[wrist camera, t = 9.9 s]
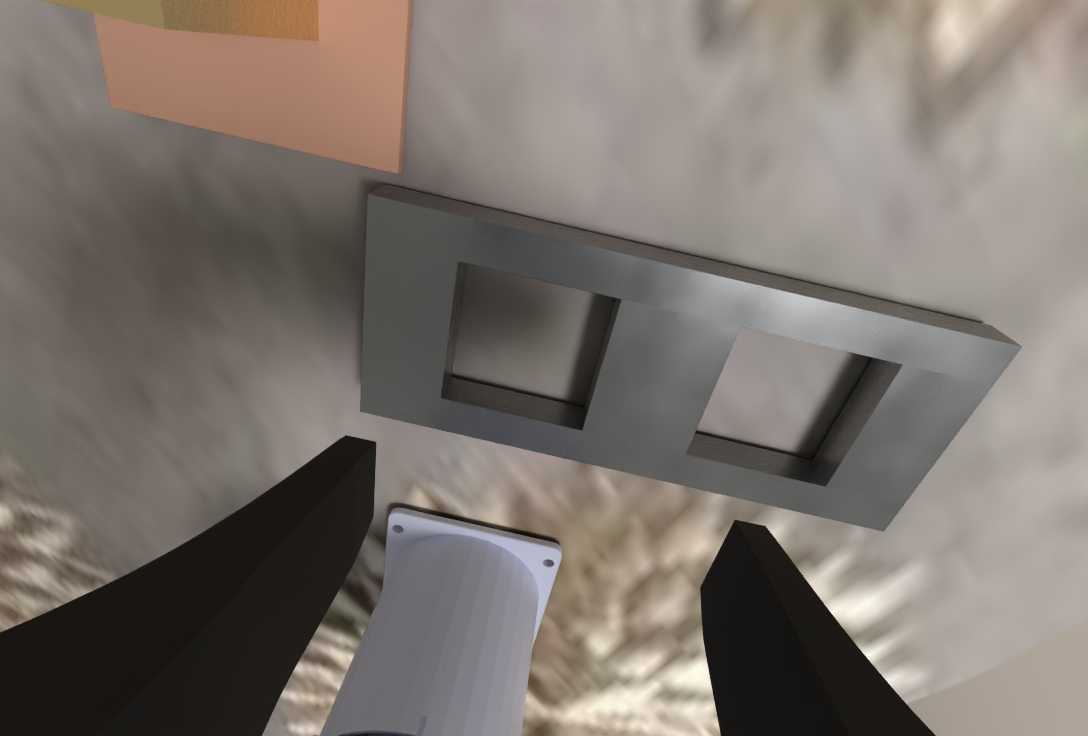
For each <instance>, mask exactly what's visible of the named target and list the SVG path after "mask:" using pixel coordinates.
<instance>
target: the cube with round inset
mask: <svg viewBox="0 0 1088 736" xmlns="http://www.w3.org/2000/svg"><path fill="white" fill-rule="evenodd" d="M41 1H45V2H49V3H54V4H58V5H62V6H66V7H71V8H75V9H79V10H84V11H88V12H92V13H96V14H101V15H105V16H109V17H114V18H118V19H122V20H126V21H131V22H135V23H139V24H144V25H148V26H152V27H157V28H161V29H166V30H179V31H192V32H205V33H217V34H230V35H243V36H256V37H269V38H282V39H295V40H308V41H319V32H318V0H41Z"/></svg>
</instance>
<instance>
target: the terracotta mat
mask: <svg viewBox="0 0 1088 736" xmlns="http://www.w3.org/2000/svg"><path fill="white" fill-rule="evenodd" d="M93 14H94V20H95V25H96V30H97V36H98V41H99V46H100V51H101V57H102V62H103V67H104V73H105V78H106V83H107V88H108V94H109V99H110V104H111V107H113V108H117V109H122V110H126V111H130V112H134V113H139V114H143V115H147V116H151V117H156V118H160V119H164V120H169V121H173V122H177V123H181V124H186V125H190V126H194V127H199V128H203V129H207V130H211V131H216V132H220V133H224V134H229V135H233V136H237V137H241V138H246V139H250V140H254V141H258V142H263V143H267V144H271V145H276V146H280V147H284V148H288V149H293V150H297V151H301V152H306V153H310V154H314V155H318V156H323V157H327V158H331V159H336V160H340V161H344V162H348V163H353V164H357V165H361V166H365V167H370V168H374V169H378V170H383V171H387V172H391V173H395V174H399V173H401V172H402V167H403V152H404V136H405V121H406V106H407V90H408V75H409V60H410V44H411V29H412V14H413V0H318V32H319V41H308V40H295V39H282V38H269V37H256V36H243V35H230V34H217V33H205V32H192V31H179V30H166V29H161V28H157V27H152V26H148V25H144V24H139V23H135V22H131V21H126V20H122V19H118V18H114V17H109V16H105V15H101V14H96V13H93Z"/></svg>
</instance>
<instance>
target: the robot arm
mask: <svg viewBox="0 0 1088 736" xmlns="http://www.w3.org/2000/svg"><path fill="white" fill-rule="evenodd" d="M375 463H376V442H374V441H370V440H365V439H360V438H356V437H351V436H347V435H346V436H344V437H343V438H341V439H339V440H338V441H337V442H335V443H334V444H332V445H331V446H330V447H328V448H327V449H326V450H324V451H323V452H321V453H320V454H319V455H317V456H316V457H315V458H313V459H312V460H311V461H309V462H308V463H306V464H305V465H304V466H302V467H301V468H299V469H298V470H297V471H295V472H294V473H292V474H291V475H290V476H288V477H287V478H285V479H284V480H283V481H281V482H280V483H278V484H277V485H275V486H274V487H272V488H271V489H269V490H268V491H266V492H265V493H264V494H262V495H261V496H259V497H258V498H256V499H255V500H253V501H252V502H250V503H249V504H247V505H246V506H244V507H243V508H241V509H239V510H238V511H236V512H235V513H233V514H231V515H230V516H228V517H227V518H225V519H223V520H222V521H220V522H219V523H217V524H215V525H214V526H212V527H211V528H209V529H207V530H206V531H204V532H203V533H201V534H199V535H198V536H196V537H194V538H192V539H191V540H189V541H187V542H186V543H184V544H182V545H180V546H179V547H177V548H175V549H173V550H172V551H170V552H168V553H166V554H164V555H163V556H161V557H159V558H157V559H155V560H153V561H151V562H150V563H148V564H146V565H144V566H142V567H140V568H138V569H136V570H135V571H133V572H131V573H129V574H127V575H125V576H123V577H121V578H119V579H117V580H115V581H113V582H111V583H109V584H106V585H104V586H102V587H100V588H98V589H96V590H94V591H92V592H89V593H87V594H85V595H83V596H81V597H79V598H77V599H75V600H72V601H70V602H68V603H66V604H64V605H62V606H60V607H58V608H55V609H53V610H51V611H49V612H47V613H45V614H42V615H40V616H38V617H36V618H33V619H31V620H29V621H26V622H24V623H22V624H19V625H17V626H14V627H12V628H10V629H7V630H5V631H3V632H0V736H262V734H263V732H264V730H265V727H266V725H267V723H268V721H269V719H270V716H271V714H272V712H273V710H274V708H275V706H276V703H277V701H278V699H279V697H280V695H281V693H282V691H283V689H284V687H285V686H286V684H287V682H288V680H289V678H290V676H291V674H292V672H293V670H294V669H295V667H296V665H297V663H298V661H299V660H300V658H301V656H302V654H303V653H304V651H305V649H306V647H307V646H308V644H309V642H310V640H311V639H312V637H313V635H314V633H315V632H316V630H317V628H318V626H319V624H320V623H321V621H322V619H323V617H324V616H325V614H326V612H327V610H328V609H329V607H330V605H331V603H332V602H333V600H334V598H335V596H336V594H337V593H338V591H339V589H340V587H341V585H342V584H343V582H344V580H345V578H346V577H347V575H348V573H349V571H350V569H351V567H352V566H353V564H354V562H355V559H356V557H357V555H358V552H359V550H360V548H361V545H362V543H363V541H364V538H365V536H366V533H367V531H368V528H369V526H370V524H371V521H372V519H373V514H374V488H375ZM398 525H399V526H398ZM400 526H401V527H400ZM561 558H562V548H561V546H560V545H558V544H557V543H554V542H550V541H546V540H541V539H537V538H532V537H528V536H524V535H519V534H515V533H510V532H506V531H502V530H497V529H493V528H488V527H484V526H480V525H475V524H471V523H466V522H462V521H458V520H453V519H449V518H444V517H440V516H436V515H431V514H427V513H422V512H418V511H414V510H409V509H405V508H394V509H393V510H392V511H391V513H390V515H389V517H388V526H387V539H386V552H385V566H384V579H383V590H382V592H381V594H380V597H379V599H378V601H377V604H376V606H375V608H374V611H373V613H372V615H371V618H370V620H369V622H368V625H367V627H366V629H365V632H364V634H363V636H362V639H361V641H360V643H359V646H358V648H357V650H356V653H355V655H354V657H353V660H352V662H351V664H350V667H349V669H348V671H347V673H346V676H345V678H344V680H343V683H342V685H341V687H340V690H339V692H338V694H337V697H336V699H335V701H334V704H333V706H332V708H331V711H330V713H329V715H328V718H327V720H326V722H325V725H324V727H323V729H322V732H321V734H320V736H521V731H522V723H523V716H524V708H525V700H526V693H527V685H528V678H529V670H530V662H531V655H532V647H533V644H534V641H535V638H536V635H537V632H538V629H539V626H540V623H541V620H542V617H543V614H544V610H545V607H546V604H547V601H548V598H549V595H550V592H551V589H552V586H553V583H554V580H555V577H556V573H557V570H558V567H559V564H560V561H561ZM546 559H550V560H546ZM700 590H701V612H702V626H703V640H704V645H705V651H706V657H707V663H708V668H709V674H710V679H711V685H712V690H713V695H714V701H715V706H716V711H717V717H718V722H719V727H720V733H721V736H935V735H934V733H933V732H932V731H931V730H930V729H929V728H928V727H927V726H926V725H925V724H924V723H923V722H922V721H921V720H920V718H919V717H918V716H917V715H916V714H915V713H914V712H913V711H912V710H911V709H910V708H909V706H908V705H907V704H906V703H905V702H904V701H903V700H902V699H901V697H900V696H899V695H898V694H897V693H896V692H895V691H894V689H893V688H892V687H891V686H890V685H889V684H888V682H887V681H886V680H885V679H884V678H883V676H882V675H881V674H880V673H879V672H878V671H877V669H876V668H875V667H874V666H873V665H872V663H871V662H870V661H869V660H868V659H867V658H866V656H865V655H864V654H863V653H862V651H861V650H860V649H859V648H858V647H857V645H856V644H855V643H854V642H853V640H852V639H851V638H850V637H849V635H848V634H847V633H846V632H845V630H844V629H843V628H842V627H841V625H840V624H839V623H838V621H837V620H836V619H835V618H834V616H833V615H832V614H831V612H830V611H829V610H828V608H827V607H826V606H825V605H824V603H823V602H822V601H821V599H820V598H819V597H818V595H817V594H816V593H815V591H814V590H813V589H812V587H811V586H810V585H809V583H808V582H807V581H806V579H805V578H804V577H803V575H802V574H801V573H800V571H799V570H798V569H797V567H796V566H795V565H794V563H793V562H792V560H791V559H790V558H789V556H788V555H787V554H786V552H785V551H784V550H783V548H782V547H781V546H780V544H779V543H778V542H777V540H776V539H775V538H774V537H773V535H772V534H771V533H770V531H769V530H768V529H767V528H766V526H762V525H757V524H753V523H748V522H743V521H739V520H735V521H734V523H733V525H732V527H731V528H730V530H729V532H728V534H727V536H726V538H725V540H724V542H723V544H722V546H721V548H720V550H719V552H718V554H717V556H716V558H715V560H714V562H713V564H712V566H711V567H710V569H709V571H708V573H707V575H706V577H705V579H704V581H703V583H702V585H701V587H700ZM314 736H316V735H314Z"/></svg>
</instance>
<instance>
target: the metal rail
mask: <svg viewBox="0 0 1088 736" xmlns="http://www.w3.org/2000/svg"><path fill="white" fill-rule="evenodd" d="M467 263H468V264H472V265H477V266H481V267H485V268H490V269H494V270H498V271H502V272H507V273H511V274H515V275H520V276H524V277H528V278H533V279H537V280H541V281H546V282H550V283H554V284H558V285H563V286H567V287H571V288H576V289H580V290H584V291H589V292H593V293H597V294H601V295H606V296H610V297H614V298H616V300H615V304H614V307H613V311H612V314H611V317H610V321H609V324H608V328H607V331H606V334H605V338H604V341H603V345H602V348H601V351H600V355H599V358H598V362H597V365H596V368H595V372H594V375H593V379H592V382H591V385H590V389H589V392H588V396H587V399H586V402H585V406H584V407H579V406H575V405H570V404H566V403H562V402H557V401H553V400H549V399H544V398H540V397H536V396H531V395H527V394H523V393H518V392H514V391H510V390H505V389H501V388H497V387H492V386H488V385H484V384H479V383H475V382H471V381H466V380H462V379H457V378H453V377H451V375H452V368H453V360H454V353H455V345H456V338H457V331H458V323H459V316H460V308H461V301H462V294H463V286H464V279H465V271H466V264H467ZM741 327H744V328H748V329H752V330H756V331H761V332H765V333H769V334H774V335H778V336H782V337H787V338H791V339H795V340H800V341H804V342H808V343H812V344H817V345H821V346H825V347H830V348H834V349H838V350H843V351H847V352H851V353H855V354H860V355H864V356H868V357H873V359H872V360H871V362H870V364H869V366H868V367H867V369H866V371H865V372H864V374H863V376H862V377H861V379H860V381H859V382H858V384H857V386H856V387H855V389H854V391H853V392H852V394H851V396H850V397H849V399H848V401H847V403H846V404H845V406H844V408H843V409H842V411H841V413H840V414H839V416H838V418H837V419H836V421H835V423H834V424H833V426H832V428H831V429H830V431H829V433H828V434H827V436H826V438H825V440H824V441H823V443H822V445H821V446H820V448H819V450H818V451H817V453H816V455H815V456H814V458H813V460H810V459H805V458H801V457H796V456H792V455H788V454H783V453H779V452H775V451H770V450H766V449H762V448H757V447H753V446H749V445H744V444H740V443H736V442H731V441H727V440H723V439H718V438H714V437H710V436H705V435H701V434H697V433H695V431H696V429H697V427H698V424H699V422H700V420H701V418H702V415H703V413H704V411H705V408H706V406H707V404H708V401H709V399H710V397H711V395H712V392H713V390H714V388H715V385H716V383H717V381H718V379H719V376H720V374H721V372H722V369H723V367H724V365H725V362H726V360H727V358H728V356H729V353H730V351H731V349H732V346H733V344H734V342H735V339H736V337H737V335H738V333H739V330H740V328H741ZM1021 348H1022V346H1020V345H1019V344H1017V343H1016V342H1015V341H1013V340H1012V339H1010V338H1009V337H1007V336H1006V335H1004V334H1003V333H1001V332H1000V331H998V330H997V329H996V328H994V327H993V326H991V325H987V324H982V323H978V322H974V321H969V320H965V319H961V318H957V317H952V316H948V315H944V314H939V313H935V312H931V311H927V310H922V309H918V308H914V307H909V306H905V305H901V304H897V303H892V302H888V301H884V300H879V299H875V298H871V297H867V296H862V295H858V294H854V293H849V292H845V291H841V290H837V289H832V288H828V287H824V286H819V285H815V284H811V283H807V282H802V281H798V280H794V279H790V278H785V277H781V276H777V275H772V274H768V273H764V272H760V271H755V270H751V269H747V268H742V267H738V266H734V265H730V264H725V263H721V262H717V261H712V260H708V259H704V258H700V257H695V256H691V255H687V254H682V253H678V252H674V251H670V250H665V249H661V248H657V247H652V246H648V245H644V244H640V243H635V242H631V241H627V240H622V239H618V238H614V237H610V236H605V235H601V234H597V233H592V232H588V231H584V230H580V229H575V228H571V227H567V226H562V225H558V224H554V223H550V222H545V221H541V220H537V219H532V218H528V217H524V216H520V215H515V214H511V213H507V212H502V211H498V210H494V209H490V208H485V207H481V206H477V205H472V204H468V203H464V202H460V201H455V200H451V199H447V198H442V197H438V196H434V195H430V194H425V193H421V192H417V191H412V190H408V189H404V188H400V187H395V186H391V185H387V184H385V185H384V186H382V187H380V188H378V189H376V190H374V191H372V192H371V193H369V194H368V196H367V225H366V254H365V283H364V312H363V341H362V370H361V399H360V412H364V413H369V414H373V415H378V416H382V417H386V418H391V419H395V420H399V421H404V422H408V423H412V424H417V425H421V426H426V427H430V428H434V429H439V430H443V431H447V432H452V433H456V434H461V435H465V436H469V437H474V438H478V439H482V440H487V441H491V442H495V443H500V444H504V445H509V446H513V447H517V448H522V449H526V450H530V451H535V452H539V453H543V454H548V455H552V456H557V457H561V458H565V459H570V460H574V461H578V462H583V463H587V464H591V465H596V466H600V467H605V468H609V469H613V470H618V471H622V472H626V473H631V474H635V475H639V476H644V477H648V478H653V479H657V480H661V481H666V482H670V483H674V484H679V485H683V486H688V487H692V488H696V489H701V490H705V491H709V492H714V493H718V494H722V495H727V496H731V497H736V498H740V499H744V500H749V501H753V502H757V503H762V504H766V505H770V506H775V507H779V508H784V509H788V510H792V511H797V512H801V513H805V514H810V515H814V516H818V517H823V518H827V519H832V520H836V521H840V522H845V523H849V524H853V525H858V526H862V527H867V528H871V529H875V530H880V531H885V529H886V528H887V527H888V525H889V524H890V523H891V521H892V520H893V519H894V517H895V516H896V515H897V513H898V512H899V511H900V509H901V508H902V507H903V505H904V504H905V503H906V501H907V500H908V499H909V497H910V496H911V495H912V493H913V492H914V491H915V489H916V488H917V487H918V485H919V484H920V483H921V481H922V480H923V479H924V477H925V476H926V475H927V473H928V472H929V471H930V469H931V468H932V467H933V465H934V464H935V463H936V461H937V460H938V459H939V457H940V456H941V455H942V453H943V452H944V451H945V449H946V448H947V447H948V445H949V444H950V443H951V441H952V440H953V439H954V437H955V436H956V435H957V433H958V432H959V431H960V429H961V428H962V427H963V425H964V424H965V422H966V421H967V420H968V418H969V417H970V416H971V414H972V413H973V412H974V410H975V409H976V408H977V406H978V405H979V404H980V402H981V401H982V400H983V398H984V397H985V396H986V394H987V393H988V392H989V390H990V389H991V388H992V386H993V385H994V384H995V382H996V381H997V380H998V378H999V377H1000V376H1001V374H1002V373H1003V372H1004V370H1005V369H1006V368H1007V366H1008V365H1009V364H1010V362H1011V361H1012V360H1013V358H1014V357H1015V356H1016V354H1017V353H1018V352H1019V350H1020V349H1021Z"/></svg>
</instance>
